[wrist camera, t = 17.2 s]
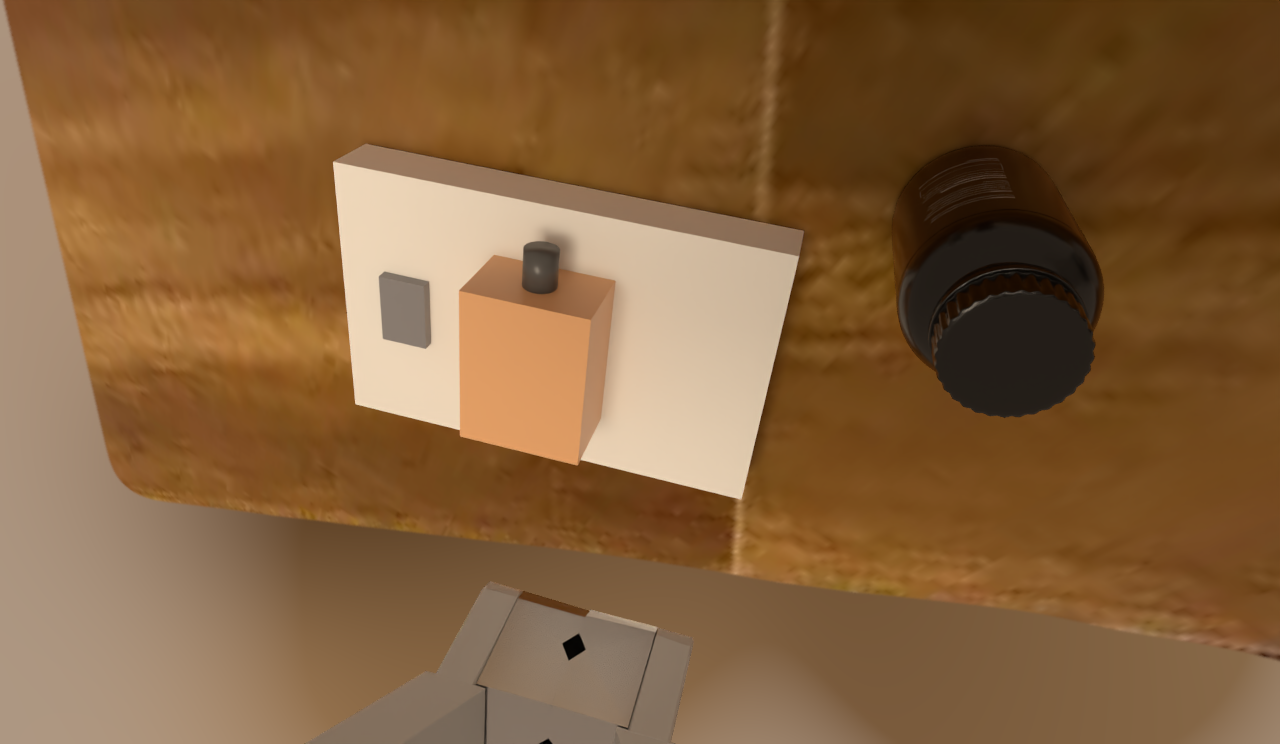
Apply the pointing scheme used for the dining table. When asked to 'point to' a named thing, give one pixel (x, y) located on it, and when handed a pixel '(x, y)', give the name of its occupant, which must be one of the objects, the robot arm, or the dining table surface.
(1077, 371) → the supplement bottle
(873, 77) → the dining table surface
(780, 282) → the socket plate
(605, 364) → the plug
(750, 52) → the dining table surface
